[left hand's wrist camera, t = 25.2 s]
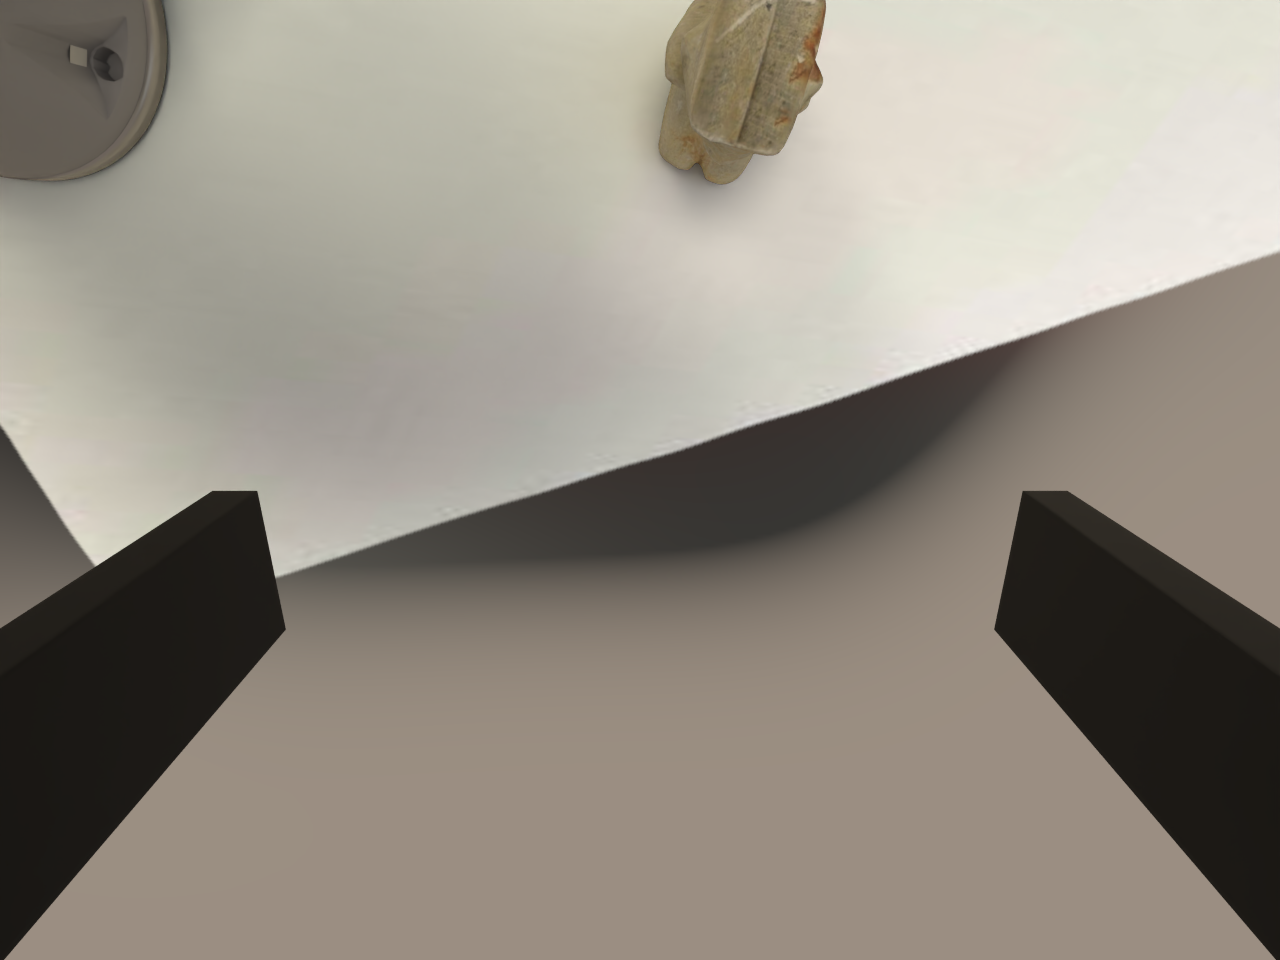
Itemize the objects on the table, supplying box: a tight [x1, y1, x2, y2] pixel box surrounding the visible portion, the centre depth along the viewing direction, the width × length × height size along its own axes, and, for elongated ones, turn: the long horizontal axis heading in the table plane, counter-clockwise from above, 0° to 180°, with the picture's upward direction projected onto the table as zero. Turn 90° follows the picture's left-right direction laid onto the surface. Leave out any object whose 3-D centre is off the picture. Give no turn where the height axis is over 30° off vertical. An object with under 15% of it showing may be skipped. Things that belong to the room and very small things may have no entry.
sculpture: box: [659, 0, 826, 184], centre depth 28 cm, size 6×7×15 cm
